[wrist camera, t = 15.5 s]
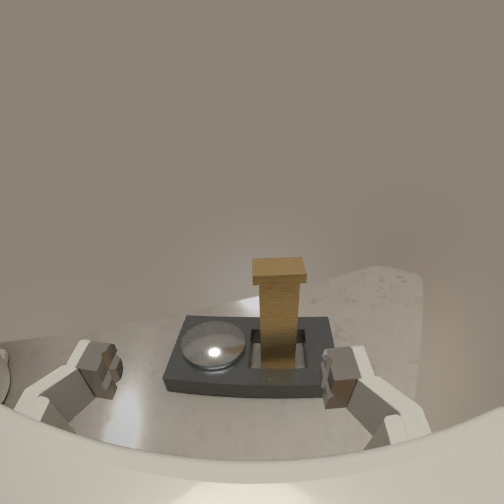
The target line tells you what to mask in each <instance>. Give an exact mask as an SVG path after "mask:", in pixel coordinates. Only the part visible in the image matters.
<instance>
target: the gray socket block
mask: <svg viewBox="0 0 504 504" xmlns="http://www.w3.org/2000/svg"><path fill="white" fill-rule="evenodd" d="M252 343H261V332H260V317H214V316H189V315H187V316H186V318H185V321H184V324H183V326H182V329H181V331H180V334H179V336H178V339H177V341H176V344H175V347H174V349H173V352H172V355H171V357H170V360H169V362H168V365H167V368H166V370H165V373H164V376H163V380H164V383H165V385H166V388H167V390H168V391H173V392H181V393H190V394H200V395H211V396H225V397H244V398H313V397H323V396H322V395H323V391H324V389H323V388H322V387H321V385H320V379H319V369H320V364H321V363H322V362H323V357H322V355H323V351H324V349H328V348H334V343H333V338H332V333H331V328H330V324H329V319H328V317H298V322H297V336H296V343H303V345H304V356H305V368H301V369H254V368H250V359H251V349H252Z"/></svg>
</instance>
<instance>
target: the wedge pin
mask: <svg viewBox="0 0 504 504" xmlns="http://www.w3.org/2000/svg"><path fill="white" fill-rule="evenodd" d="M252 267H253V268H252V276H253V277H252V278H253V285H259V301H260V332H261V365H262V369H294V362H295V349H296V336H297V322H298V306H299V288H300V283H306V279H307V273H306V270H305V267H304V264H303V260H302V258H301V257H286V258H261V259H260V258H259V259H252Z"/></svg>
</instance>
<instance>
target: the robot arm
mask: <svg viewBox="0 0 504 504" xmlns="http://www.w3.org/2000/svg"><path fill="white" fill-rule="evenodd" d="M116 352H117V349H116V347H115V345H114V344H110V343H103V342H97V341H90V340H84V339H82V340H81V341H79V343H78V345H77V346H76V348H75V350H74V351H73V353H72V355H71V357H70V358H69V360H68V362H67V364H66V365H65V366H64V365H62V366H61V367H59V368H57V369H56V370H54V371H53V372H51V373H50V374H48V375H46V376H45V377H43V378H42V379H40V380H39V381H37V382H35V383H34V384H32V385H31V386H29V387H28V388H26V389H25V390H24V392H23V394H22V395H21V397H20V399H19V401H18V403H17V404H16V406H15V408H14V410H13V409H11V408H9V407H7V406H4V405H2V402H3V401H4V399H5V397H6V395H7V392H8V389H9V385H10V373H9V369H8V366H7V363H8V358H9V354H8V353H7V351H6V350H5V349H0V504H504V407H502V406H501V407H497V408H495V409H492V410H490V411H488V412H486V413H484V414H481V415H479V416H477V417H474V418H472V419H469V420H467V421H464V422H462V423H460V424H457V425H454V426H451V427H448V428H445V429H443V430H440V431H437V432H434V433H431V430H430V428H429V425H428V423H427V420H426V418H425V415H424V413H423V410H422V408H421V407H420V406H419V405H417V404H416V403H415V402H413V401H412V400H411V399H409V398H408V397H406V396H405V395H404V394H402V393H401V392H400V391H398V390H397V389H396V388H394V387H393V386H392V385H390V384H389V383H388V382H386V381H385V380H383V379H382V378H381V377H379V376H375V374H374V371H373V369H372V366H371V363H370V361H369V358H368V356H367V353H366V351H365V348H364V346H362V345H361V346H351V347H339V348H328V349H324V351H323V355H322V357H323V362H322V363H321V364H320V369H319V379H320V385H321V387H322V388H323V389H324V391H323V395H322V396H323V401H324V406H325V409H333V408H344V407H347V410H348V411H349V412H350V413H351V414H352V415H353V416H354V417H355V418H356V419H357V420H358V421H359V422H360V423H361V424H362V425H363V426H364V427H365V428H366V429H367V430H368V431H369V432H370V434H371V435H372V436H373V437H372V438H371V440H370V441H369V443H368V444H367V446H366V447H365V448H364V450H363V451H357V452H351V453H345V454H339V455H331V456H323V457H314V458H303V459H289V460H261V461H245V460H217V459H203V458H192V457H183V456H175V455H167V454H160V453H154V452H148V451H143V450H138V449H133V448H128V447H123V446H119V445H114V444H110V443H106V442H102V441H99V440H95V439H91V438H88V437H84V436H81V435H78V434H75V430H74V429H73V428H72V427H71V426H70V424H69V423H68V422H70V421H71V420H72V419H73V418H74V417H75V416H76V415H77V414H78V413H79V412H81V411H82V410H83V409H84V408H85V407H86V406H87V405H88V404H89V403H90V402H91V401H93V400H94V399H95V397H99V398H104V399H110V400H113V397H114V395H115V392H116V390H117V386H116V382H118V381H119V380H120V379H121V377H122V373H123V364H122V361H121V358H120V357H118V356H117V355H116Z"/></svg>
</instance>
